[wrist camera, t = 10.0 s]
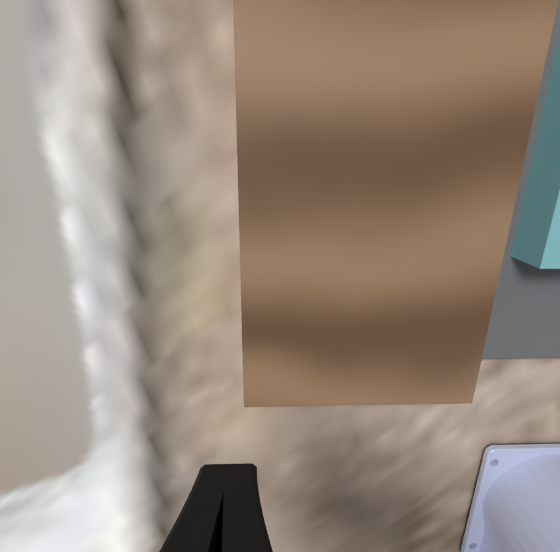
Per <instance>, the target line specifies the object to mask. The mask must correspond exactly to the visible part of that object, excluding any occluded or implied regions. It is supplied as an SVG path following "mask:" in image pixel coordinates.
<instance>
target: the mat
mask: <svg viewBox="0 0 560 552" xmlns="http://www.w3.org/2000/svg"><path fill="white" fill-rule="evenodd" d="M559 42H560V0H559V1H558V6H557V10H556V15H555V20H554V24H553V29H552V34H551V38H550V43H549V48H548V52H547V57H546V62H545V66H544V71H543V76H542V80H541V85H540V89H539V94H538V99H537V103H536V108H535V113H534V117H533V122H532V127H531V131H530V136H529V141H528V145H527V150H526V154H525V159H524V164H523V168H522V173H521V178H520V182H519V187H518V192H517V196H516V201H515V206H514V210H513V215H512V220H511V224H510V229H509V233H508V238H507V243H506V247H505V252H504V257H503V261H502V266H501V271H500V275H499V280H498V285H497V289H496V294H495V299H494V303H493V308H492V312H491V317H490V322H489V326H488V331H487V336H486V340H485V345H484V350H483V354H482V359H499V358H560V269H539V268H537V267H535V266H532V265H530V264H528V263H525V262H523V261H521V260H518V259H516V258H513V257H511V252H512V248H513V243H514V239H515V234H516V230H517V225H518V221H519V216H520V212H521V207H522V203H523V198H524V194H525V189H526V185H527V180H528V176H529V171H530V167H531V162H532V158H533V153H534V149H535V144H536V140H537V135H538V131H539V126H540V122H541V117H542V113H543V108H544V104H545V99H546V95H547V90H548V86H549V81H550V77H551V72H552V68H553V63H554V59H555V54H556V50H557V45H558V43H559Z"/></svg>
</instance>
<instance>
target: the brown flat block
mask: <svg viewBox="0 0 560 552" xmlns="http://www.w3.org/2000/svg"><path fill="white" fill-rule="evenodd" d="M558 1H559V0H234V38H235V77H236V115H237V154H238V192H239V231H240V269H241V308H242V346H243V385H244V407H277V406H337V405H397V404H457V403H472V401H473V396H474V391H475V387H476V382H477V377H478V373H479V368H480V364H481V359H482V354H483V350H484V345H485V340H486V336H487V331H488V326H489V322H490V317H491V312H492V308H493V303H494V299H495V294H496V289H497V285H498V280H499V275H500V271H501V266H502V261H503V257H504V252H505V247H506V243H507V238H508V233H509V229H510V224H511V220H512V215H513V210H514V206H515V201H516V196H517V192H518V187H519V182H520V178H521V173H522V168H523V164H524V159H525V154H526V150H527V145H528V141H529V136H530V131H531V127H532V122H533V117H534V113H535V108H536V103H537V99H538V94H539V89H540V85H541V80H542V76H543V71H544V66H545V62H546V57H547V52H548V48H549V43H550V38H551V34H552V29H553V24H554V20H555V15H556V10H557V6H558Z"/></svg>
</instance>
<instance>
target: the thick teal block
mask: <svg viewBox="0 0 560 552" xmlns="http://www.w3.org/2000/svg"><path fill="white" fill-rule="evenodd" d="M511 257H513V258H516V259H518V260H521V261H523V262H525V263H528V264H530V265H532V266H535V267H537V268H539V269H560V42H559V43H558V45H557V50H556V54H555V59H554V63H553V68H552V72H551V77H550V81H549V86H548V90H547V95H546V99H545V104H544V108H543V113H542V117H541V122H540V126H539V131H538V135H537V140H536V144H535V149H534V153H533V158H532V162H531V167H530V171H529V176H528V180H527V185H526V189H525V194H524V198H523V203H522V207H521V212H520V216H519V221H518V225H517V230H516V234H515V239H514V243H513V248H512V252H511Z"/></svg>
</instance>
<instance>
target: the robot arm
mask: <svg viewBox="0 0 560 552" xmlns="http://www.w3.org/2000/svg"><path fill="white" fill-rule="evenodd" d="M159 552H273V551H272V548H271V544H270V541H269V537H268V533H267V530H266V526H265V522H264V518H263V513H262V508H261V503H260V498H259V492H258V485H257V467H256V466H255V465H254V464H210V465H204V466H203V467H201V468H200V471H199V473H198V476H197V478H196V481H195V483H194V485H193V488H192V490H191V492H190V494H189V496H188V498H187V500H186V502H185V504H184V506H183V508H182V510H181V512H180V514H179V516H178V518H177V520H176V522H175V524H174V526H173V528H172V529H171V531H170V533H169V535H168V537H167V539H166V540H165V542H164V544H163V546H162V548H161V550H160V551H159ZM460 552H560V444H519V445H491V446H489V447H487V448H486V449H485V451H484V455H483V459H482V463H481V468H480V472H479V476H478V480H477V484H476V488H475V493H474V497H473V501H472V505H471V509H470V513H469V518H468V522H467V526H466V530H465V534H464V538H463V542H462V547H461V551H460Z"/></svg>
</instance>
